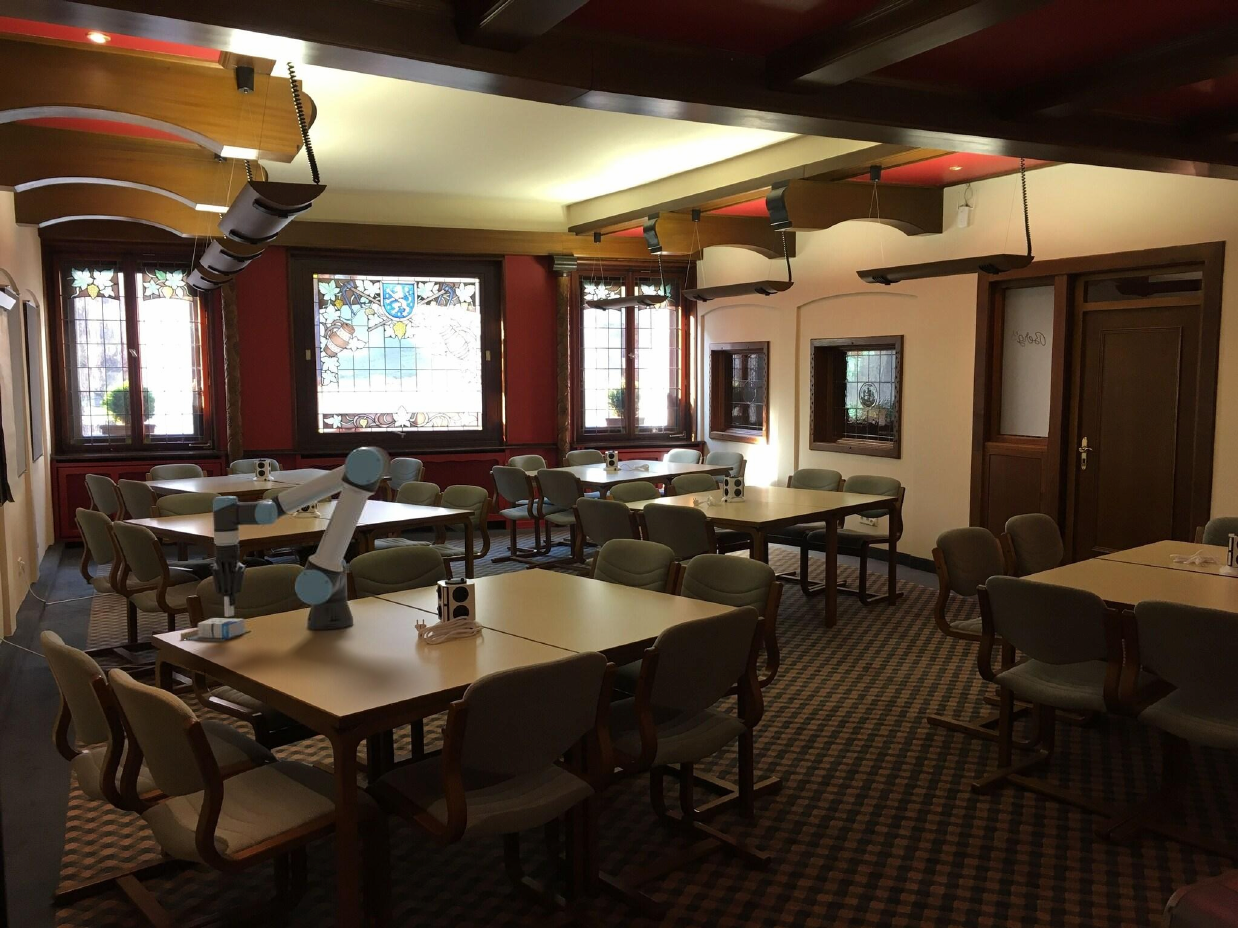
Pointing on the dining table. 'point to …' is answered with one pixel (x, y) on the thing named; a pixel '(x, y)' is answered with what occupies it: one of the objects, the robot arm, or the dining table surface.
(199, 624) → the ink box
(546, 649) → the dining table surface
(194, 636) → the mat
